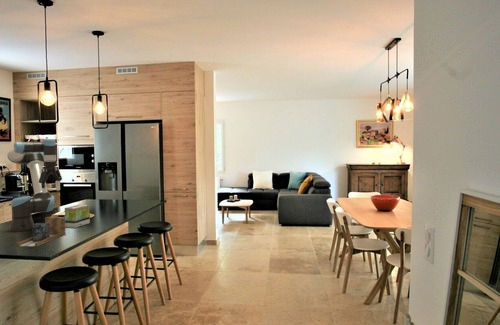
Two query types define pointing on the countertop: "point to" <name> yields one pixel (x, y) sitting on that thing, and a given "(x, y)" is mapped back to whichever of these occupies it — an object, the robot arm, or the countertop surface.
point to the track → (55, 232)
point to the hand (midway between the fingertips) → (51, 191)
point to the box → (40, 231)
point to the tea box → (77, 216)
